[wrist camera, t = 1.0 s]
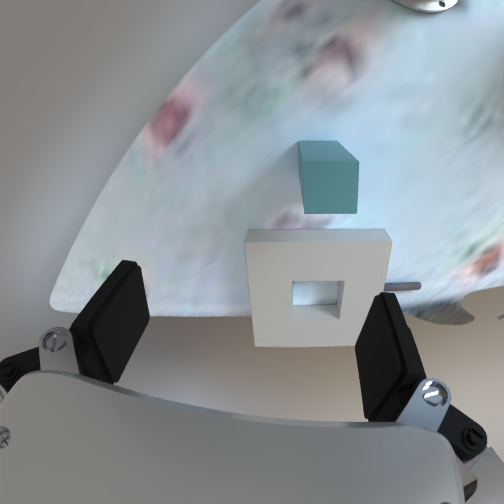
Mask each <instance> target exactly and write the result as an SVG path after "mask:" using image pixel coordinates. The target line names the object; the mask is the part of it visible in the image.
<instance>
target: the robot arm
mask: <svg viewBox="0 0 504 504" xmlns="http://www.w3.org/2000/svg"><path fill="white" fill-rule="evenodd" d="M393 1H395V2H397V3H398V4H400V5H403V6H405V7H407V8H409V9H413V10H416V11H419V12H425V13H438V12H442V11H445V10H448V9H450V8H452V7H453V6H454V5H455V4H456V3H457V2H458V0H393ZM149 317H150V315H149V310H148V305H147V299H146V294H145V289H144V283H143V277H142V271H141V267H140V266H138V265H137V263H136V262H134V261H128V260H122V261H121V262H120V263H119V265H118V266H117V267H116V268H115V269H114V271H113V272H112V273H111V274H110V275H109V277H108V278H107V279H106V280H105V282H104V283H103V284H102V285H101V287H100V288H99V289H98V290H97V292H96V293H95V294H94V295H93V297H92V298H91V299H90V301H89V302H88V303H87V304H86V306H85V307H84V308H83V310H82V311H81V312H80V314H79V315H78V316H77V318H76V319H75V320H74V322H73V323H72V326H71V327H70V329H69V330H68V329H66V328H63V327H55V328H52V329H49V330H48V331H46V332H45V333H44V334H43V335H42V336H41V338H40V340H39V347H37V348H34V349H31V350H28V351H25V352H22V353H19V354H16V355H13V356H10V357H7V358H5V359H3V360H2V361H1V362H0V504H502V503H503V502H504V463H503V462H502V460H501V459H500V458H499V456H498V455H497V454H496V453H495V451H494V450H493V448H492V447H490V448H488V447H487V446H486V445H487V435H486V432H485V431H484V429H483V428H482V427H481V426H480V425H479V424H478V423H476V422H474V421H473V420H472V419H471V418H469V417H468V416H466V415H465V414H464V413H462V412H461V411H459V410H458V409H457V408H455V407H454V406H452V405H451V404H450V402H451V393H450V390H449V388H448V387H447V386H446V384H444V383H443V382H442V381H440V380H438V379H435V378H426V374H425V371H424V368H423V365H422V362H421V358H420V355H419V353H418V349H417V347H416V344H415V341H414V338H413V335H412V333H411V330H410V328H409V327H408V326H407V324H406V321H405V318H404V316H403V313H402V310H401V308H400V305H399V303H398V300H397V298H396V295H395V294H394V293H387V292H380V294H379V295H376V296H375V297H374V299H373V302H372V304H371V307H370V310H369V312H368V315H367V317H366V320H365V322H364V324H363V327H362V329H361V332H360V334H359V336H358V339H357V341H356V344H355V352H356V359H357V365H358V372H359V379H360V386H361V394H362V401H363V410H364V417H365V418H366V419H368V422H337V421H311V420H309V421H308V420H294V419H283V418H273V417H263V416H255V415H247V414H240V413H234V412H227V411H221V410H215V409H210V408H204V407H199V406H194V405H189V404H185V403H180V402H176V401H171V400H167V399H163V398H159V397H154V396H151V395H147V394H143V393H140V392H136V391H133V390H129V389H126V388H122V387H119V386H115V385H113V384H114V382H115V383H117V382H118V381H119V379H120V377H121V375H122V373H123V371H124V369H125V367H126V365H127V362H128V361H129V359H130V357H131V355H132V353H133V351H134V349H135V347H136V345H137V343H138V342H139V340H140V338H141V336H142V334H143V332H144V330H145V328H146V326H147V324H148V322H149Z"/></svg>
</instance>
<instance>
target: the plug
mask: <svg viewBox="0 0 504 504" xmlns="http://www.w3.org/2000/svg"><path fill="white" fill-rule="evenodd" d="M298 146H299V174H300V184H301V192H302V199H303V207H304V214H357V199H358V178H359V161H358V160H357V159H356V158H355V157H354V156H353V155H352V154H350V153H349V152H348V151H347V150H346V149H345V148H344V147H343V146H342V145H341V144H340V143H339V142H338V141H298Z"/></svg>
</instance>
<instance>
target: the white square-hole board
mask: <svg viewBox="0 0 504 504" xmlns="http://www.w3.org/2000/svg"><path fill="white" fill-rule="evenodd" d="M244 245H245V255H246V265H247V275H248V284H249V294H250V303H251V313H252V322H253V332H254V341H255V346H256V347H329V346H354V345H355V344H356V341H357V339H358V336H359V334H360V332H361V329H362V327H363V324H364V322H365V320H366V317H367V315H368V312H369V310H370V307H371V304H372V302H373V299H374V297H375V296H376V295H379V294H380V292H383V291H401V290H419V289H420V288H421V283H420V282H408V283H385V280H386V275H387V270H388V264H389V258H390V252H391V246H392V240H391V238H390V236H389V235H388V233H387V232H386V230H385V229H292V230H248V231H247V235H246V238H245V242H244ZM292 281H340V283H339V292H338V301H337V305H292Z"/></svg>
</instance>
